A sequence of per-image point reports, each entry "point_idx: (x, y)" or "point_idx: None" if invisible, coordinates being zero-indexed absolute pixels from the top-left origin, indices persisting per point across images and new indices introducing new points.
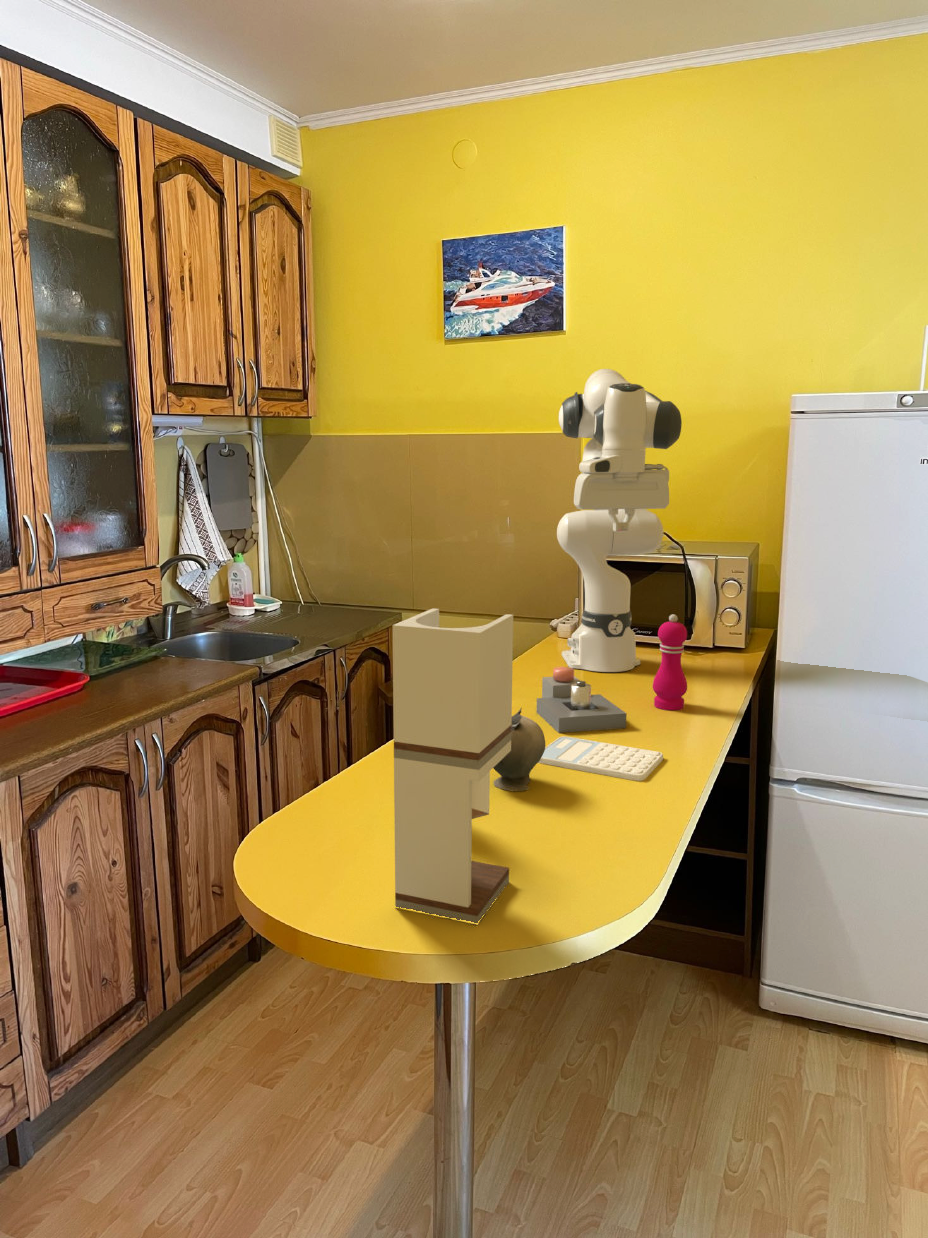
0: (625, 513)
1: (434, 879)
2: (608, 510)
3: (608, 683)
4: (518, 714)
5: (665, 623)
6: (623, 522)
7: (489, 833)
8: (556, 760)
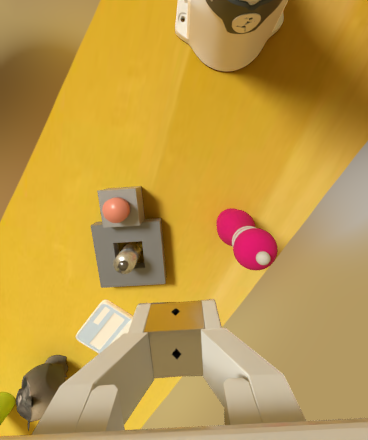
0: (224, 397)
1: None
2: (39, 430)
3: (201, 123)
4: (30, 406)
5: (247, 254)
6: (190, 362)
7: (39, 420)
8: (89, 347)
